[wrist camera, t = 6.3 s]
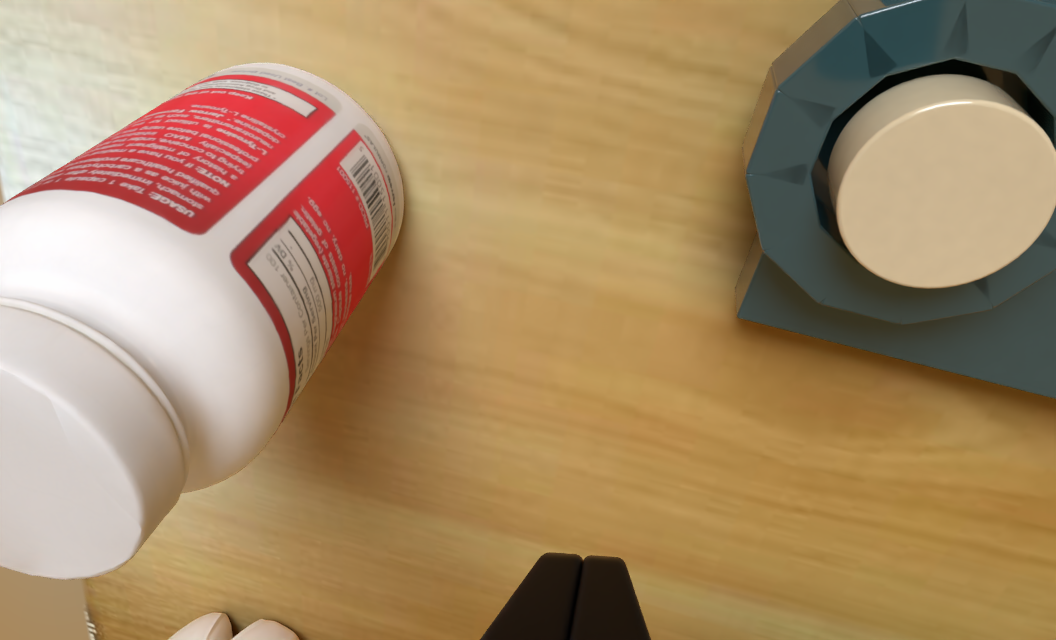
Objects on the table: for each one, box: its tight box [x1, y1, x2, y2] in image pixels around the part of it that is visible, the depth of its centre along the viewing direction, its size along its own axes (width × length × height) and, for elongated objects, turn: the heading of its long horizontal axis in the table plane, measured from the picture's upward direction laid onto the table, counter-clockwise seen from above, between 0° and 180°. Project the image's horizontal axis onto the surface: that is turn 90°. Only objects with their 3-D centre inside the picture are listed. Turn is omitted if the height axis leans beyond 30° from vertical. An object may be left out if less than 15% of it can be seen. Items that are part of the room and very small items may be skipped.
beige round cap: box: [827, 74, 1056, 289], centre depth 15 cm, size 4×4×2 cm
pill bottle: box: [0, 63, 404, 580], centre depth 17 cm, size 6×6×11 cm
